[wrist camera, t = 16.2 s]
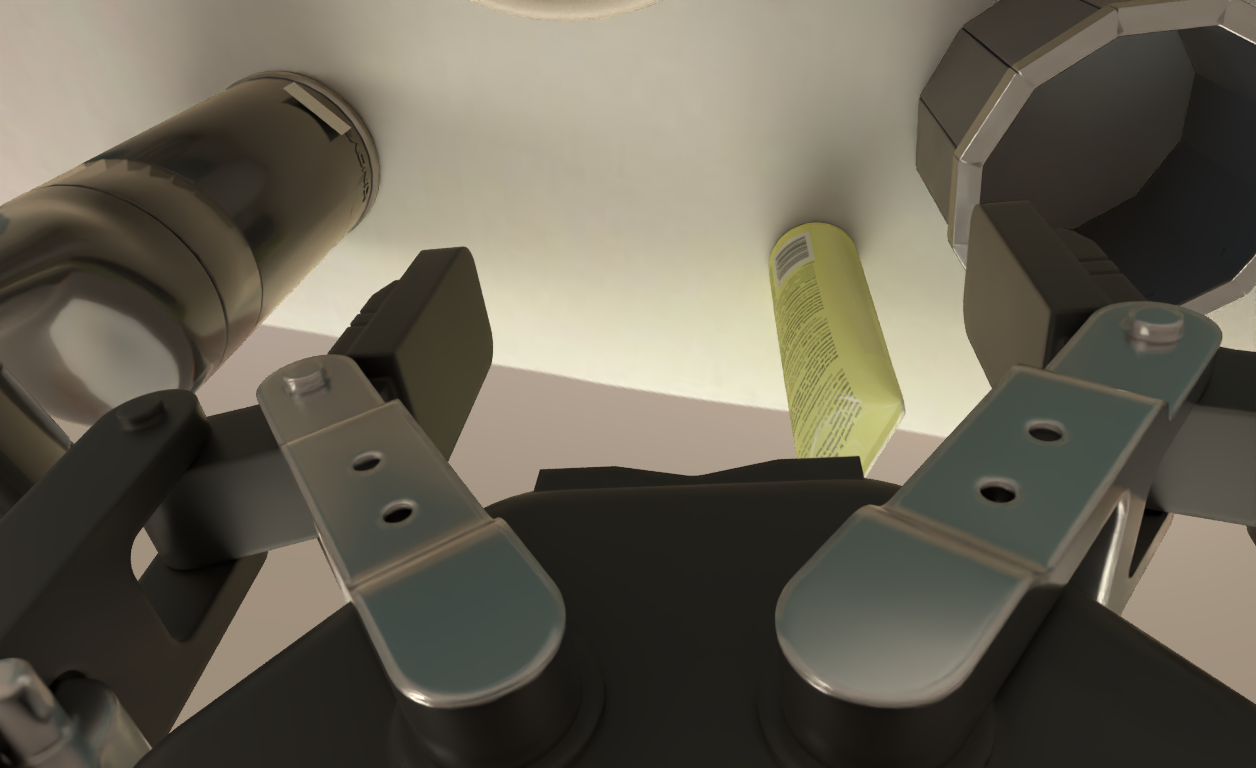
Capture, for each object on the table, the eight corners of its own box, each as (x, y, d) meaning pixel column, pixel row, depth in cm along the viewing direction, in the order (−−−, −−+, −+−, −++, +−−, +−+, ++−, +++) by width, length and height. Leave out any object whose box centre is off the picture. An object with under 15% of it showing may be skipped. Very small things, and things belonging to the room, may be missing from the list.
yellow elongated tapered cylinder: (872, 292, 49) (946, 526, 32) (786, 321, 50) (815, 558, 34) (842, 205, 46) (906, 410, 30) (753, 238, 48) (767, 451, 31)
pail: (905, 259, 47) (943, 351, 39) (917, -16, 40) (968, 25, 31) (1179, 238, 45) (1283, 331, 37) (1246, -57, 38) (1395, -25, 29)
